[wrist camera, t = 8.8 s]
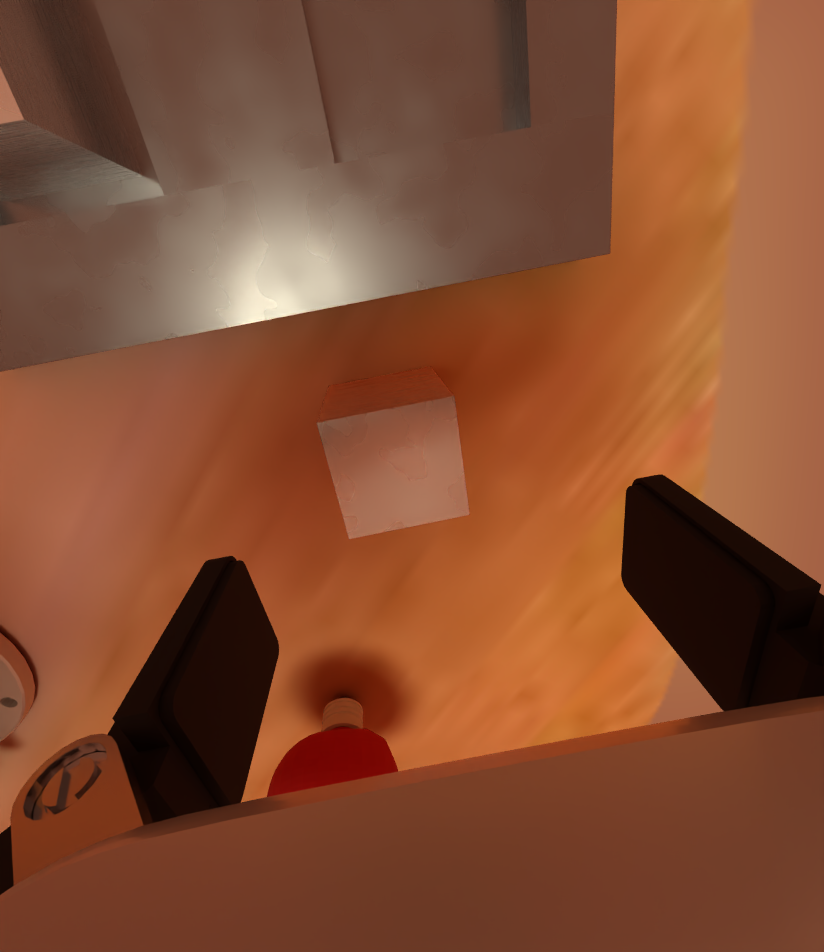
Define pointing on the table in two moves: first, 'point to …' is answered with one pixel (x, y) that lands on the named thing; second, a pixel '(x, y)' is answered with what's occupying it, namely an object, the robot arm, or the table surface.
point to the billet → (394, 451)
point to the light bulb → (334, 752)
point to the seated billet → (55, 104)
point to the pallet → (316, 164)
